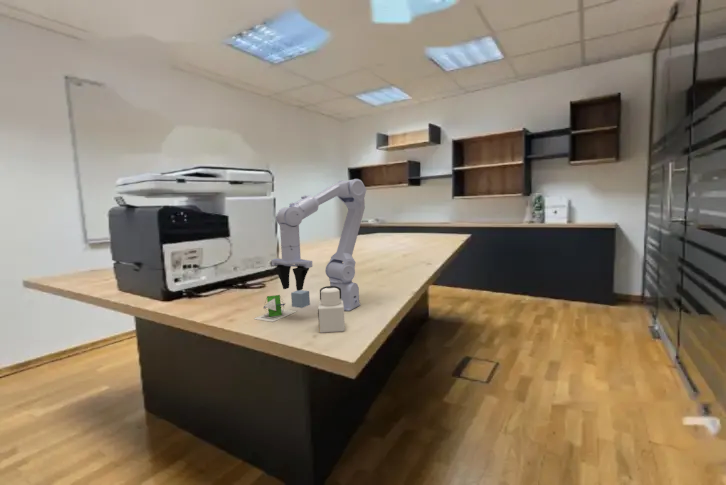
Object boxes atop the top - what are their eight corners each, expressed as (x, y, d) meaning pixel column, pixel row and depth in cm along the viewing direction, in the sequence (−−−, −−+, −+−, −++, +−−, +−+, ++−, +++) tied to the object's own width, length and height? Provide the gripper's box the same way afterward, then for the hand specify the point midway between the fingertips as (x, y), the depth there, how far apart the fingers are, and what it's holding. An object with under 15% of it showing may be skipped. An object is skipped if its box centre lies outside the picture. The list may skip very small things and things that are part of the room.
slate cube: (309, 304, 131) (309, 291, 131) (302, 307, 127) (301, 293, 127) (299, 303, 133) (299, 290, 133) (291, 306, 129) (291, 292, 129)
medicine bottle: (319, 324, 109) (318, 285, 107) (343, 323, 109) (342, 283, 108) (319, 333, 101) (317, 290, 100) (344, 331, 102) (343, 289, 101)
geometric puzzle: (262, 306, 123) (262, 290, 118) (282, 303, 125) (283, 288, 120) (264, 323, 118) (265, 308, 113) (286, 320, 120) (287, 305, 115)
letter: (297, 311, 123) (297, 311, 123) (272, 322, 113) (272, 321, 113) (278, 308, 127) (278, 308, 127) (253, 318, 116) (253, 318, 116)
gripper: (263, 247, 113) (266, 290, 114) (301, 248, 106) (303, 294, 108) (279, 244, 119) (281, 285, 121) (315, 245, 112) (317, 288, 114)
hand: (292, 289), depth 114 cm, fingers open, 5 cm apart
